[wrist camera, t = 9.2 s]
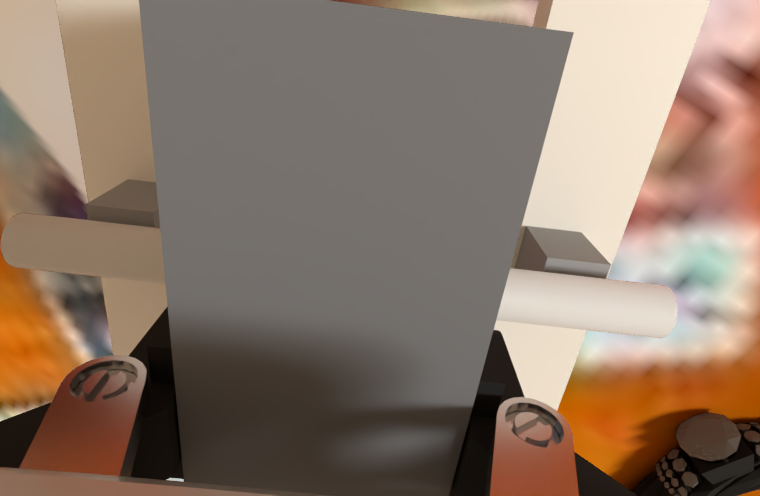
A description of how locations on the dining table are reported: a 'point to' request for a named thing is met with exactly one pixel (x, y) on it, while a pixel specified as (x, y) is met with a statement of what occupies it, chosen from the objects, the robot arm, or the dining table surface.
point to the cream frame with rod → (541, 220)
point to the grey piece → (337, 230)
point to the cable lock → (708, 460)
